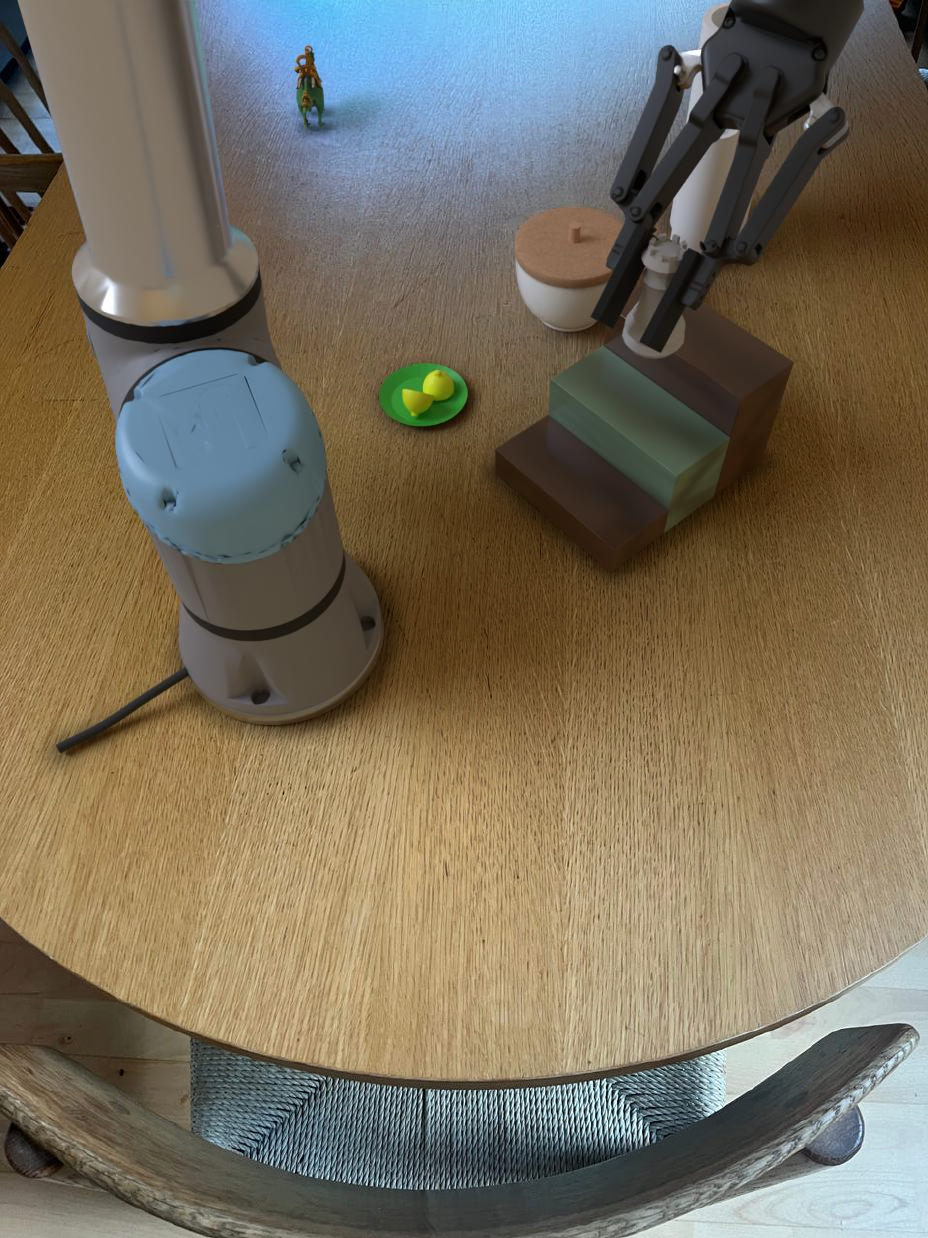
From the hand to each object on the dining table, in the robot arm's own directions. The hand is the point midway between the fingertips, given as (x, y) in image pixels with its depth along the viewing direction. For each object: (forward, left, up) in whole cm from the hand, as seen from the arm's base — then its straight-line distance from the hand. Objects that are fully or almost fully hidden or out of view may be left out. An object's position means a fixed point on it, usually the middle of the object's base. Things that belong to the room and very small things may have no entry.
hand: (626, 334), depth 67 cm
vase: (+32, +18, -18) cm, 41 cm away
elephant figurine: (+16, +64, -16) cm, 68 cm away
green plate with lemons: (-4, +19, -18) cm, 27 cm away
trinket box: (+14, +19, -18) cm, 30 cm away
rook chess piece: (+4, +1, -3) cm, 5 cm away
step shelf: (+4, +1, -18) cm, 18 cm away
